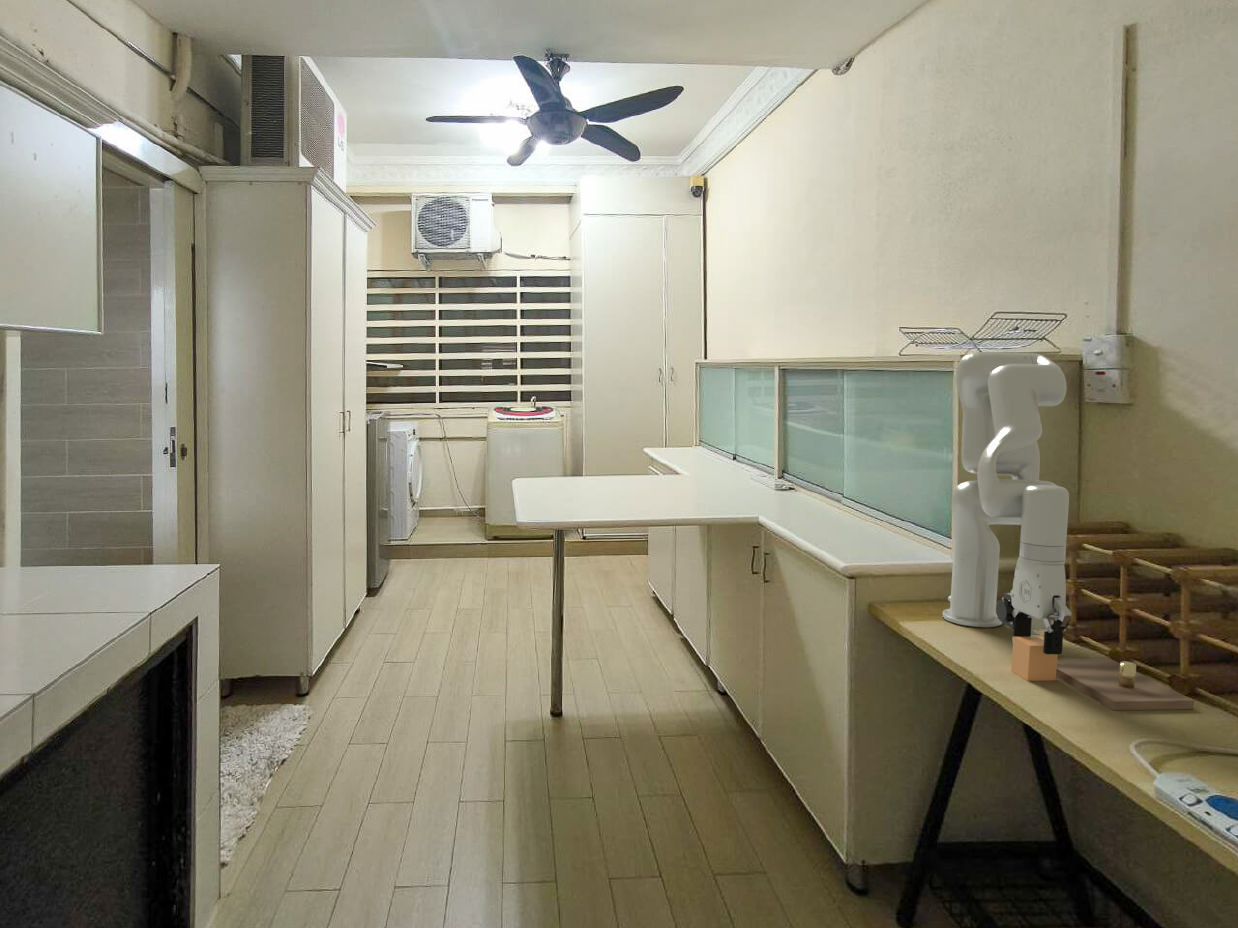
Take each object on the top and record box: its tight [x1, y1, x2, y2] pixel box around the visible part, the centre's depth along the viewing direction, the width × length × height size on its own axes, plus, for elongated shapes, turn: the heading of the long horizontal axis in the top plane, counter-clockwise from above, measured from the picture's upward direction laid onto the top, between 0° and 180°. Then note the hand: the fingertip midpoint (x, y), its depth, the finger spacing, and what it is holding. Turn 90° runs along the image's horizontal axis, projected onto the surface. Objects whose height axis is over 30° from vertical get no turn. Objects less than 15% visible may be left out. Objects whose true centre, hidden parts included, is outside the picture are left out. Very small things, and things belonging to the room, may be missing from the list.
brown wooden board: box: [1056, 657, 1195, 711], centre depth 156 cm, size 22×14×6 cm, turn 6°
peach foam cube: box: [1010, 635, 1059, 682], centre depth 160 cm, size 5×5×6 cm
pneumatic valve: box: [995, 592, 1055, 643], centre depth 177 cm, size 6×12×12 cm, turn 93°
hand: (1036, 645), depth 160 cm, fingers open, 9 cm apart
